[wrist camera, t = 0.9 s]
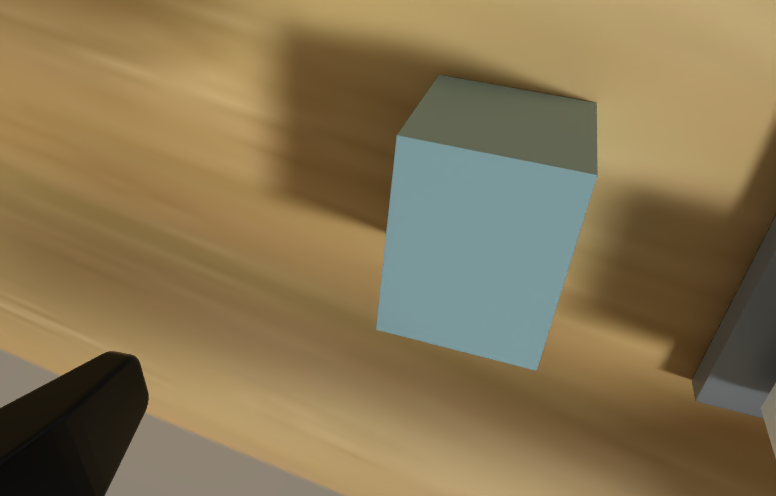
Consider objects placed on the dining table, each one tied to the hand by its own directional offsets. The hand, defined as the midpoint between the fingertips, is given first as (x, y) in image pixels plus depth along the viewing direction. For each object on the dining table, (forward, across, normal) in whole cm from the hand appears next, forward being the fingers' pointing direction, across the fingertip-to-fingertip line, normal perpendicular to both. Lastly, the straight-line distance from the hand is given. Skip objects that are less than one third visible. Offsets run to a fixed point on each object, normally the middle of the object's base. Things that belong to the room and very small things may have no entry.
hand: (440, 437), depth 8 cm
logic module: (+12, 0, +2) cm, 13 cm away
